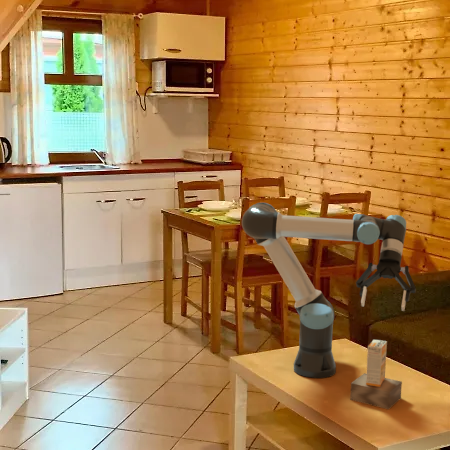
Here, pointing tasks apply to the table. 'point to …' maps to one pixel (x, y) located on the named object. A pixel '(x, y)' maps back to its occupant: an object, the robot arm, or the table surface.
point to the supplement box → (376, 363)
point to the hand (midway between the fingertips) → (382, 306)
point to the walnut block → (376, 392)
